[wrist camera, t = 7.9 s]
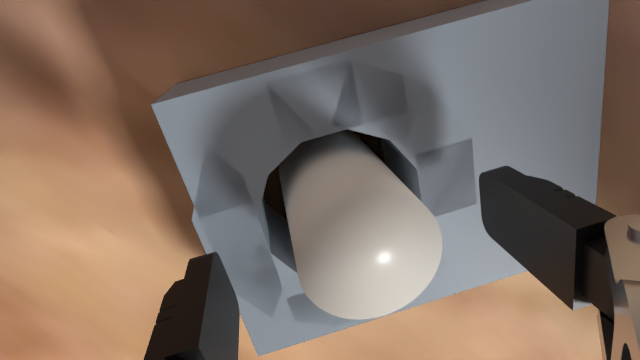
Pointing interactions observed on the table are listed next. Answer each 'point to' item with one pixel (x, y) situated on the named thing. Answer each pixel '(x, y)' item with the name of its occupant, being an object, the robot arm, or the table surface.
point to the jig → (392, 138)
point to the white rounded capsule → (356, 229)
